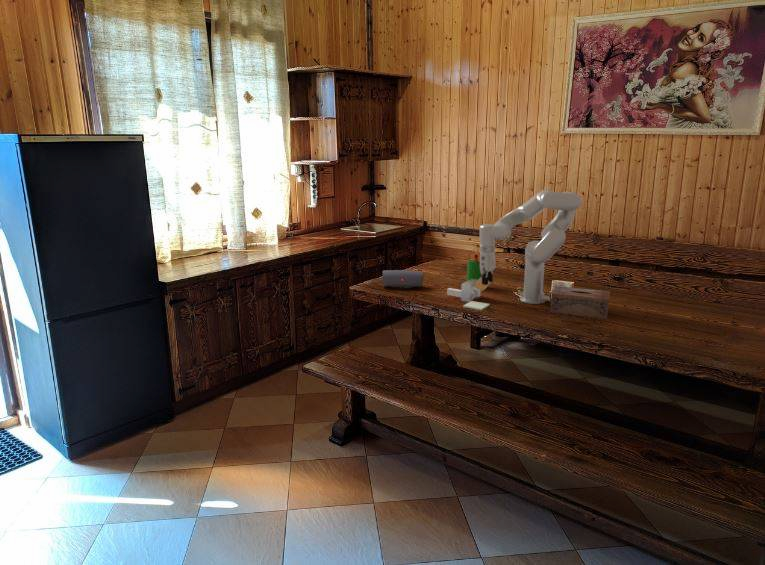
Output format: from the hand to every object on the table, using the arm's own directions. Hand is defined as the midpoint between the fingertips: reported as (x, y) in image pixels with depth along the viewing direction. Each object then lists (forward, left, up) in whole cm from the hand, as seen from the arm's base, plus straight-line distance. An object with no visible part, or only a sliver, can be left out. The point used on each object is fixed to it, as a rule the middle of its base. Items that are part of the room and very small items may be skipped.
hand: (487, 282), depth 283 cm
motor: (+16, -21, -10) cm, 28 cm away
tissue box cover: (-45, -9, -10) cm, 47 cm away
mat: (0, +12, -10) cm, 15 cm away
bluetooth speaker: (+50, +3, -10) cm, 51 cm away
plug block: (+1, 0, -2) cm, 2 cm away
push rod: (+15, +1, -10) cm, 18 cm away
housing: (+9, +1, -10) cm, 13 cm away
